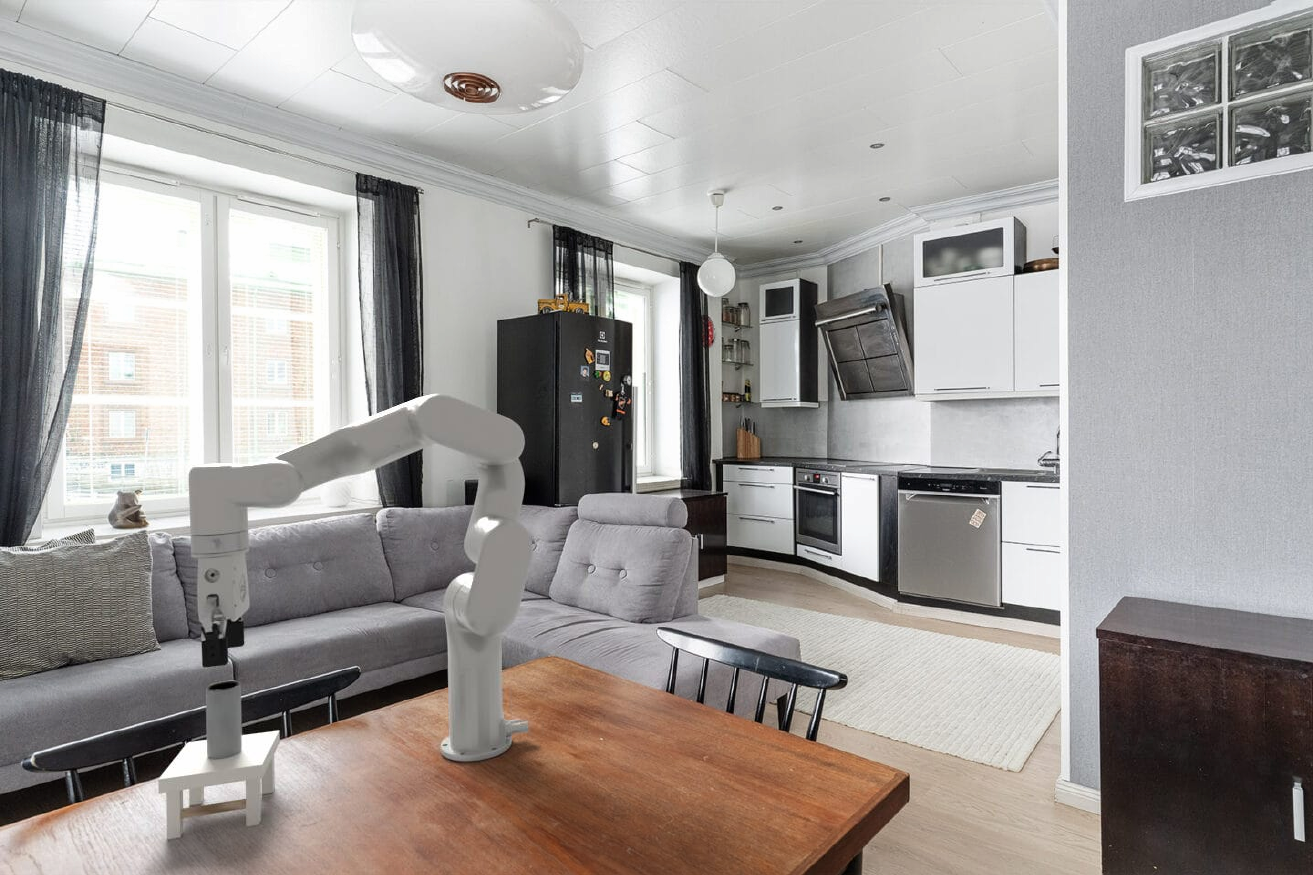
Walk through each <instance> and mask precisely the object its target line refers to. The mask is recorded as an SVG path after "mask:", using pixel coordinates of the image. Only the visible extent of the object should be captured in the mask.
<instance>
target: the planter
mask: <svg viewBox="0 0 1313 875" xmlns="http://www.w3.org/2000/svg"><path fill="white" fill-rule="evenodd" d="M241 684H242V683H241V682H240V681H238V680H225V681H218V682H214V683H211V684H210V685H208V686H207V687H206V688H205V709H206V710H205V713H206V714H205V715H206V717H205V718H206V719H205V720H206V725H205V726H206V740H207V757H208V758H210V759H222V758H227V757H230V756H233V755H235V754H237V753H239V752H240V751H241V749H242V735H243V732H242V686H241Z"/></svg>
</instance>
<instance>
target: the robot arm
mask: <svg viewBox="0 0 1313 875" xmlns="http://www.w3.org/2000/svg"><path fill="white" fill-rule="evenodd" d="M434 444H437V445H440V446H442V447H446V448H447V449H450V450H453V451H456V452H458V453H462V454H465V456H466V458H468V459H469V460H470V461H471V463H472V464H473V466H474V467H475V471H476V474H477V480H478V481H477V482H478V483H477V484H478V485H477V491H476V494H475V495H476V496H475V500H474V504H473V508H472V512H471V516H470V519H469V523H468V527H467V529H466V534H465V536H464V542H463V543H464V544H463V547H464V553H465V555H466V556H467V558H468V559H469V560H470V561H471V562H473V563H474V564H476V565H475V570H474V571H473V572H471V571H470V572H465V573H462V574H460V575H458V576H457V577H455V578H453V580H452V581H451V582H450V583H449V585H448V586H447V588H446V590H445V593H444V598H443V614H444V615H443V616H444V621H445V631H446V640H447V681H448V682H447V684H448V687H447V688H448V732H449V734H448V736H446V737H445V738H444V739H442V741H441V742H440V753H441V755H442V756H443V757H445V758H446V759H448V760H452V761H455V762H479V761H485V760H488V759H491V758H494V757H498V756H499V755H501V754H503V753H505V752H506V751H507V750H508V749H509V748H510V747H511V745H512V742H513V738H512V735H513V734H523V733H529V732H530V725H529V721H528V720H526V721H521V718H514V719H511V720H510V719H507V718H505V716H504V715H505V714H504V712H503V670H502V669H503V668H502V667H503V666H502V664H503V663H502V661H503V660H502V659H503V654H502V653H503V652H502V650H503V649H502V648H503V647H502V636H501V635H502V634H504V633H505V632H507V631H508V629H510V627H511V626H512V625H513V624H514V623H515V620H516V618H517V615H518V613H519V611H520V608H521V604H522V600H523V595H524V592H525V588H526V584H527V580H528V576H529V572H530V569H531V564H532V559H533V548H534V547H533V540H532V536H531V533H530V532H529V531H528V529H527V528H526V527H525V525H523V524H522V523H521V522H519V520H520V515H521V510H522V504H523V500H524V494H525V486H526V482H525V481H526V480H525V475H524V474H525V473H524V469H523V466H522V463H521V460H520V459H519V458H520V456H521V455H522V453H523V451H524V449H525V444H526V440H525V435H524V431H523V430H522V428H521V426H520V425H519V424H518V423H517V422H515V421H514V420H513V419H511V418H509V417H506V416H504V415H501V414H499V413H496V412H494V411H492V410H488V409H485V408H483V407H480V406H478V405H475V404H473V403H469V402H466V401H464V400H462V399H460V398H459V399H458V398H457V397H454V396H451V395H447V394H443V393H433V394H429V395H424V396H419V397H416V398H414V399H412V400H409V401H407V402H403V403H401V404H399V405H396V406H393V407H391V408H389V409H386V410H383V411H381V412H378V413H376V414H374V415H370V416H368V417H365V418H364V419H361V420H358V421H356V422H355V421H354V422H353V423H350V424H348V425H346V426H343V427H340V428H338V429H337V430H334V431H333V432H330V433H329V434H326V435H324V436H322V437H320V438H319V437H318V438H317V439H314V440H313V441H310V442H307V443H305V444H301V445H300V446H297V447H295V448H292V449H289V450H286V451H284V452H282V453H279V454H276V455H274V456H271V457H268V458H266V459H263V460H262V461H258V462H253V463H248V464H240V463H234V462H232V463H231V462H229V463H227V462H226V463H225V462H222V463H204V464H198V465H194V466H193V467H191V469H190V470H189V472H188V498H189V499H188V500H189V501H188V502H189V525H190V528H189V530H190V553H191V554H190V557H191V558H195V559H197V588H196V589H197V613H198V621H199V622H200V623H201V624H202V626H201V627H200V631H201V634H200V639H201V641H200V642H201V664H202V668H206V669H207V668H214V667H215V668H216V667H221V666H226V665H228V663H229V649H232V648H233V649H234V648H241V647H244V646H245V625H244V624H245V622H244V614H245V613H246V612H247V611H249V609H250V605H251V604H250V602H251V601H250V591H249V578H248V577H249V576H248V568H247V567H248V566H247V559H246V554H245V553H249V552H250V548H249V547H250V545H249V544H250V543H249V542H250V541H249V540H250V537H249V517H248V516H249V514H248V512H249V511H248V508H258V509H259V508H260V509H281V508H285V507H288V506H290V505H292V504H293V503H295V502H296V501H297V500H298V499H299V498H300V497H301V495H302V493H304V492H307V491H309V490H311V489H313V488H316V487H319V486H321V485H323V484H326V483H329V482H331V481H335V480H338V479H341V478H344V477H348V476H349V477H350V476H355V475H360V474H365V473H367V472H370V471H373V470H377V469H378V468H379V469H380V468H381V467H383V466H385V465H388V464H391V463H392V462H394V461H397V460H399V459H401V458H403V457H406V456H408V455H411V454H413V453H416V452H419V451H420V450H423V449H426V448H427V447H429V446H432V445H434Z"/></svg>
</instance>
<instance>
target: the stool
mask: <svg viewBox="0 0 1313 875" xmlns="http://www.w3.org/2000/svg"><path fill="white" fill-rule="evenodd" d="M280 732H281V731H280V730H273V731H265V732H257V733H250V734H249V733H248V734H242V749H241V751H240V752H239V753H237V754H235V755H233V756H230V757H227V758H222V759H210V758H208V757H207V739H204V740H203V739H202V740H197V741H188V742H187V743H186V744H185V745H184V747H183V748H182V749H180V751H179V753H178V754H177V755H176V757H175V758H174V759H173V761H172V762H171V763H170V764H169V765H168V767H167V768H166V769H165V770H164V772H162V774H161V775H160V777H159V778H158V783H157V784H158V794H165V793H166V794H165V798H166V800H165V802H166V807H165V808H166V810H165V811H166V840H168V841H169V840H174V839H180V838H181V837H182V835H183V834H184V832H185V830H184V828H185V827H184V822H185V820H184V819H188V818H194V817H201V816H209V815H212V814H219V813H227V812H234V811H238V810H245V811H246V812H245V815H246V816H245V817H246V821H245V822H246V827H252V826H259V825H260V823H261V820H262V795H265V794H273V793H274V790H275V789H276V788H275V787H276V785H275V784H276V783H275V782H276V781H275V779H276V777H275V753H276V751H277V749H278V747H279V745H280V743H281V742H280V741H281V739H280ZM239 782H245V798H242V799H236V800H231V801H230V800H229V801H222V802H216V803H211V804H204V805H201V804H203V802H204V800H205V788H206V787H212V786H218V785H220V786H221V785H226V784H227V785H228V784H232V783H233V784H234V783H239ZM184 790H188V797H189V798H188V799H189V800H188V803H189V804H188V805H189V806H191V807H184ZM196 805H197V806H196Z"/></svg>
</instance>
